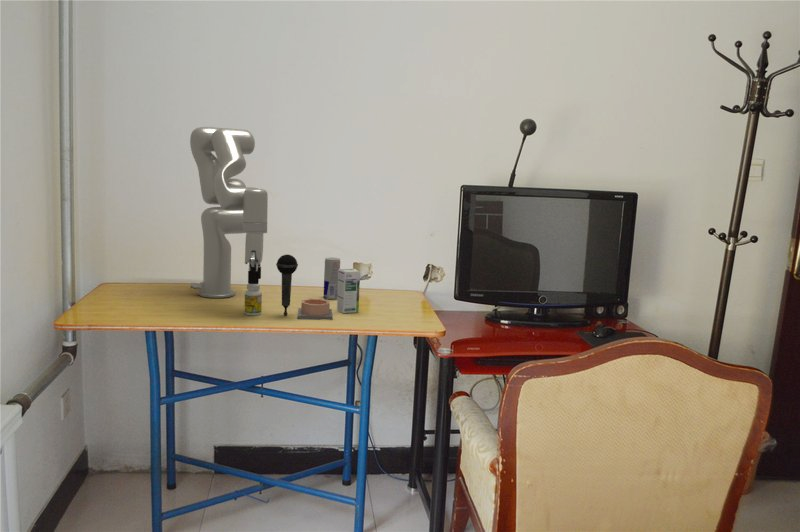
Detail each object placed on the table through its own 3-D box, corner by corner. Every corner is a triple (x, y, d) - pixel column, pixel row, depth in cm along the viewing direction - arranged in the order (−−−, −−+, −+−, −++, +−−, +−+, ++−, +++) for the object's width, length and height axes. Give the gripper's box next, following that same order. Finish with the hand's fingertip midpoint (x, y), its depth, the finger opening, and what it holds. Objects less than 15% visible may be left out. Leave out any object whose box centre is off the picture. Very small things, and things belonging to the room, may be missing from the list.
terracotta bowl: (297, 318, 211) (298, 305, 211) (298, 310, 222) (298, 297, 221) (332, 319, 213) (332, 306, 212) (331, 311, 224) (331, 298, 223)
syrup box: (343, 313, 222) (345, 271, 220) (336, 309, 227) (338, 268, 225) (358, 312, 225) (360, 270, 222) (351, 308, 230) (353, 267, 227)
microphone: (286, 319, 210) (288, 257, 207) (270, 315, 214) (271, 254, 210) (300, 315, 216) (302, 254, 213) (284, 312, 219) (286, 252, 216)
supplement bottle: (264, 313, 216) (265, 284, 215) (255, 316, 211) (256, 287, 210) (250, 311, 218) (250, 282, 217) (241, 314, 213) (241, 285, 212)
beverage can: (339, 297, 247) (341, 257, 245) (337, 300, 242) (338, 259, 239) (325, 296, 248) (326, 256, 245) (321, 299, 242) (323, 258, 240)
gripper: (245, 225, 218) (245, 276, 220) (240, 230, 201) (239, 285, 203) (268, 226, 219) (268, 277, 221) (265, 230, 202) (264, 286, 204)
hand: (254, 281), depth 212 cm, fingers open, 9 cm apart
